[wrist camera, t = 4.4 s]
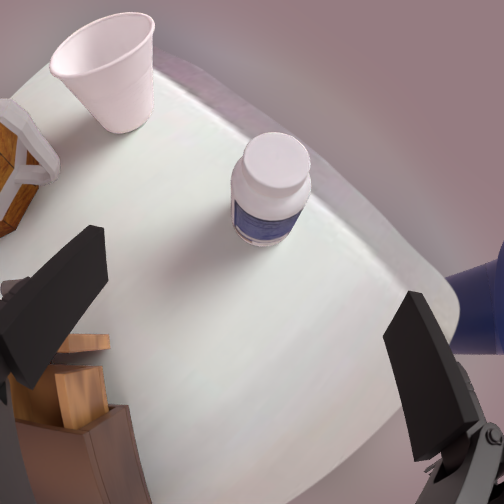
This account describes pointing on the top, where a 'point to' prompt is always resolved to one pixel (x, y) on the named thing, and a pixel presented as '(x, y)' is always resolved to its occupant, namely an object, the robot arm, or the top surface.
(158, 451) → the top surface
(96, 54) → the cup
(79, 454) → the cabinet
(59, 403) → the drawer
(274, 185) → the pill bottle
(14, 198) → the mug
